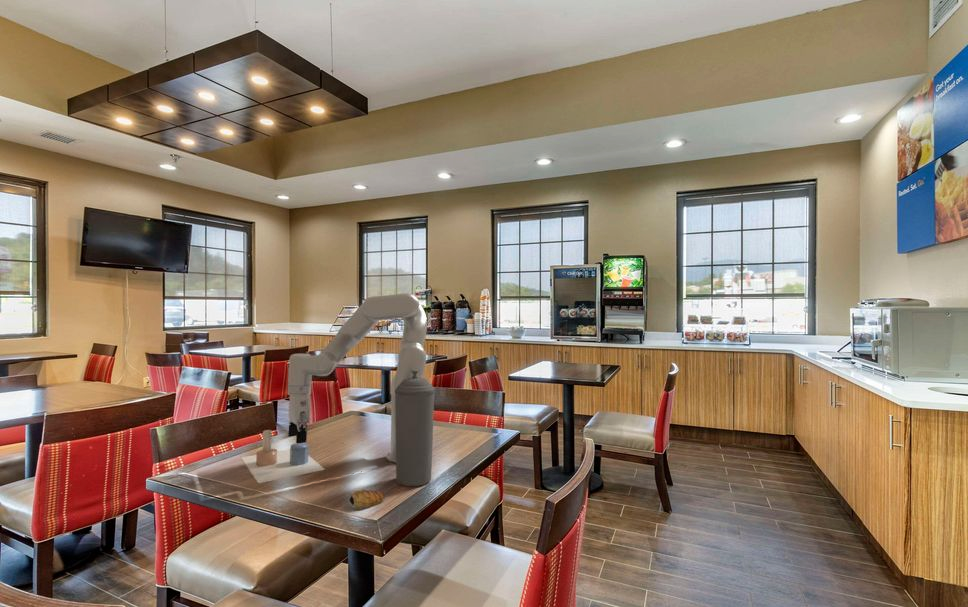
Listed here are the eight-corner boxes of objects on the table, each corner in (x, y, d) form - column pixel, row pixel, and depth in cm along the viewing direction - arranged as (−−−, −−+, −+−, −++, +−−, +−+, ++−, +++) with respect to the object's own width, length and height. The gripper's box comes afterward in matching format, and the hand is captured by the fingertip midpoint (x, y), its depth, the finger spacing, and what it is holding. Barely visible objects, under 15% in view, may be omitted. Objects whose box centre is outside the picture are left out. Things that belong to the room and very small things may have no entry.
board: (325, 472, 146) (325, 469, 146) (258, 486, 134) (258, 483, 134) (299, 450, 170) (299, 447, 170) (240, 460, 158) (240, 457, 158)
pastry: (378, 496, 129) (378, 482, 129) (387, 504, 123) (388, 490, 123) (346, 503, 123) (346, 490, 123) (354, 513, 118) (354, 498, 118)
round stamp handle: (279, 463, 151) (279, 431, 152) (258, 467, 148) (259, 434, 148) (274, 458, 157) (275, 427, 157) (254, 462, 153) (255, 430, 153)
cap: (309, 463, 152) (309, 445, 152) (292, 466, 149) (293, 448, 149) (304, 459, 157) (305, 442, 157) (288, 462, 153) (288, 444, 153)
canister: (440, 483, 138) (442, 371, 139) (402, 492, 131) (403, 373, 132) (423, 471, 148) (425, 366, 149) (387, 478, 142) (388, 368, 143)
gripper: (318, 392, 149) (316, 443, 148) (303, 385, 162) (301, 432, 162) (295, 394, 144) (292, 447, 144) (281, 386, 158) (279, 434, 157)
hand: (297, 439), depth 153 cm, fingers open, 9 cm apart
